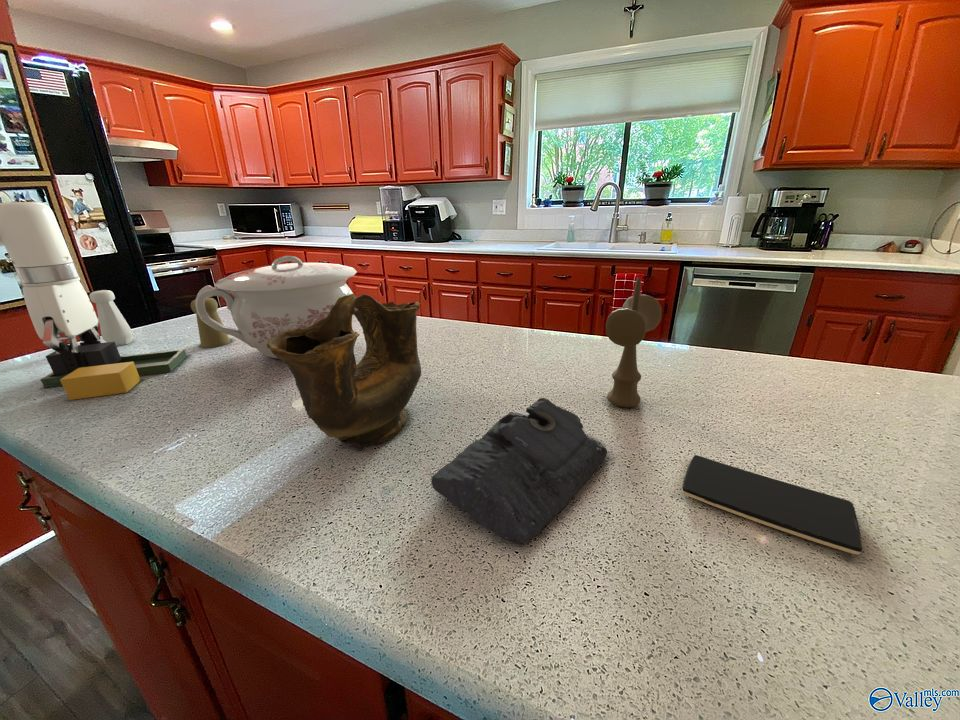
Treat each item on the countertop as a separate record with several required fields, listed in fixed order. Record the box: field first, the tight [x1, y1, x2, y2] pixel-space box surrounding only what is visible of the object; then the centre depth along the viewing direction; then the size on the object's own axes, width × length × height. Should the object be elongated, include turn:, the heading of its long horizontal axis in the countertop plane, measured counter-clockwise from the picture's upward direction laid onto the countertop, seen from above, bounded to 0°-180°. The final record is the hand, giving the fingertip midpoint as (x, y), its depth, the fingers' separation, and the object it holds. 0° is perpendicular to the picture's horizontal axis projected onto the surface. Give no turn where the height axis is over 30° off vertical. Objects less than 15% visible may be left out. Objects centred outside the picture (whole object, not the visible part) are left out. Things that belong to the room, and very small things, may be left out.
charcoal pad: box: [45, 341, 121, 375], centre depth 79 cm, size 8×6×4 cm, turn 107°
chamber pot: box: [195, 255, 358, 359], centre depth 86 cm, size 28×28×21 cm
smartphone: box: [681, 454, 863, 556], centre depth 42 cm, size 7×1×15 cm
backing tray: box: [40, 348, 188, 388], centre depth 81 cm, size 21×9×2 cm, turn 107°
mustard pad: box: [60, 362, 142, 401], centre depth 72 cm, size 8×6×4 cm, turn 107°
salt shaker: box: [89, 289, 134, 347], centre depth 95 cm, size 6×6×13 cm
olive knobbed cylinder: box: [190, 297, 231, 349], centre depth 93 cm, size 6×6×11 cm
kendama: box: [605, 276, 663, 408], centre depth 60 cm, size 6×10×20 cm, turn 145°
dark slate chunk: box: [431, 397, 608, 545], centre depth 48 cm, size 15×22×5 cm
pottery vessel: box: [267, 293, 422, 447], centre depth 55 cm, size 25×11×20 cm, turn 159°
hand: (88, 364), depth 79 cm, fingers closed on charcoal pad, 5 cm apart
